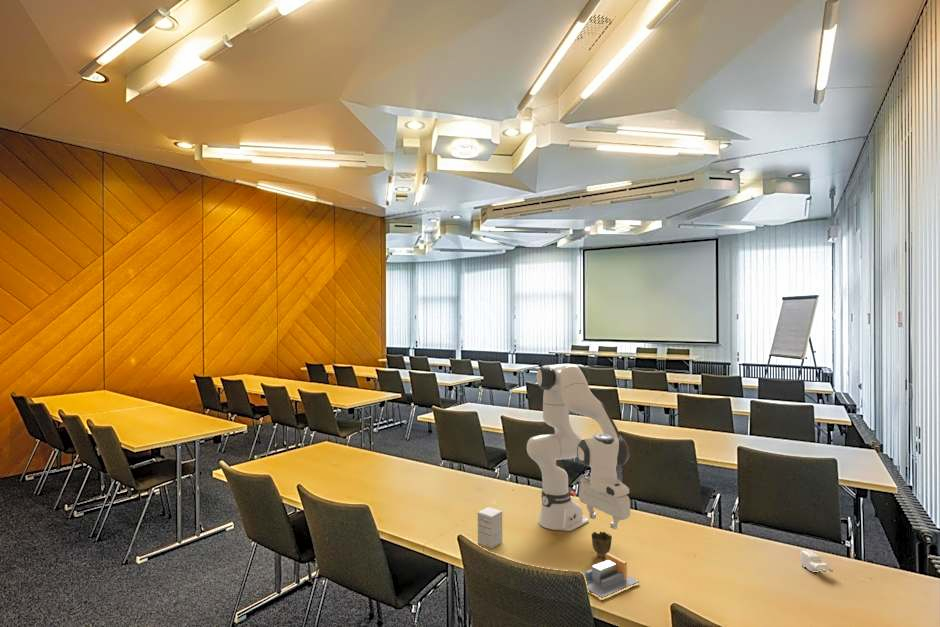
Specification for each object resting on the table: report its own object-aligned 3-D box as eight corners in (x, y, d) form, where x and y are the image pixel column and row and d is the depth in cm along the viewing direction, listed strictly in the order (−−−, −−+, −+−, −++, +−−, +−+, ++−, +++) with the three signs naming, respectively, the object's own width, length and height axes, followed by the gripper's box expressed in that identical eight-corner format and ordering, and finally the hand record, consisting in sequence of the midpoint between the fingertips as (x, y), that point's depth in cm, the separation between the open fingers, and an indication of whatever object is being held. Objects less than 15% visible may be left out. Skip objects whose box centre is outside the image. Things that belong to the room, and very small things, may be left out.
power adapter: (835, 581, 173) (835, 563, 173) (822, 581, 173) (822, 564, 173) (810, 565, 184) (810, 549, 185) (798, 565, 184) (798, 549, 184)
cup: (608, 551, 194) (608, 530, 194) (614, 561, 187) (614, 539, 187) (589, 551, 194) (589, 531, 194) (594, 561, 187) (594, 539, 187)
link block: (608, 574, 175) (608, 559, 175) (616, 578, 172) (616, 563, 172) (592, 580, 170) (592, 565, 171) (599, 585, 168) (599, 570, 168)
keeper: (606, 567, 182) (606, 547, 182) (638, 585, 170) (638, 563, 170) (570, 581, 172) (570, 560, 172) (601, 601, 160) (601, 578, 160)
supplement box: (488, 537, 207) (488, 506, 207) (502, 542, 202) (503, 510, 202) (476, 543, 201) (477, 511, 201) (491, 549, 196) (491, 516, 196)
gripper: (574, 476, 180) (574, 514, 180) (620, 494, 162) (620, 536, 163) (587, 472, 183) (587, 510, 183) (633, 490, 166) (633, 532, 166)
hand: (603, 523), depth 173 cm, fingers open, 8 cm apart
